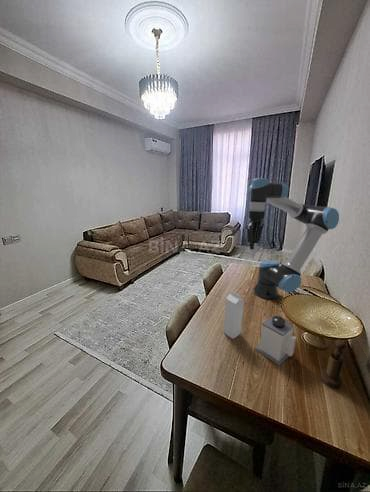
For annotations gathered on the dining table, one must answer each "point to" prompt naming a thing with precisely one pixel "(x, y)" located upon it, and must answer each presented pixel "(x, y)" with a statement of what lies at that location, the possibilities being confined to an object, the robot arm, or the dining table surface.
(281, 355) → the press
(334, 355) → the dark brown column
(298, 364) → the dining table surface
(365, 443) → the dining table surface
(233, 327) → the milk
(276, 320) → the dark gray domed cylinder
